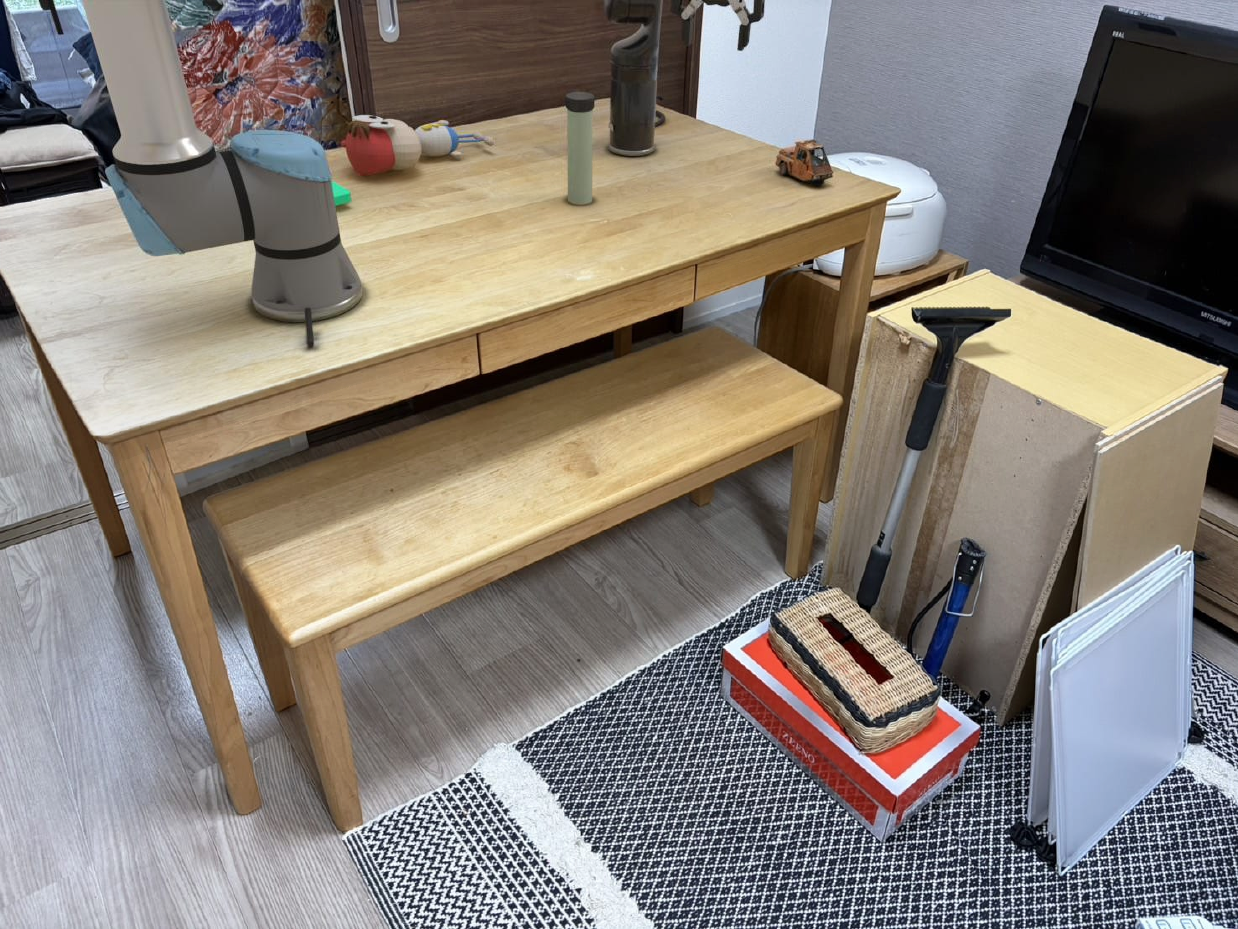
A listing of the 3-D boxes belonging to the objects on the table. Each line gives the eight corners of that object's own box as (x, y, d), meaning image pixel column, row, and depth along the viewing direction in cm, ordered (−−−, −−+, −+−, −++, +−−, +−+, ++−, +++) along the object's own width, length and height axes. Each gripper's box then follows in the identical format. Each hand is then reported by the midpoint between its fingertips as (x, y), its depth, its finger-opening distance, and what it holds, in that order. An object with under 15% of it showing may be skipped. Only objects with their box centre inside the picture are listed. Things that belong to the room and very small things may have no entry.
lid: (585, 101, 161) (585, 90, 160) (599, 109, 158) (599, 97, 157) (560, 105, 159) (560, 93, 158) (574, 113, 156) (574, 101, 154)
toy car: (791, 165, 186) (796, 130, 181) (837, 182, 178) (843, 146, 174) (769, 171, 182) (773, 136, 178) (815, 189, 175) (821, 153, 171)
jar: (584, 194, 171) (584, 93, 160) (596, 202, 168) (597, 99, 157) (563, 198, 169) (562, 96, 158) (575, 206, 166) (575, 103, 155)
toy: (509, 121, 178) (356, 125, 163) (508, 175, 183) (360, 183, 168) (469, 106, 192) (324, 108, 177) (469, 157, 197) (328, 162, 181)
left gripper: (151, -134, 141) (187, 17, 154) (-38, -132, 131) (17, 30, 144) (159, -130, 136) (195, 26, 149) (-37, -127, 126) (20, 41, 138)
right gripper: (776, -71, 137) (763, 46, 147) (683, -77, 141) (677, 37, 150) (766, -64, 132) (753, 57, 141) (670, -71, 135) (664, 47, 145)
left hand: (108, 29), depth 146 cm, fingers open, 13 cm apart
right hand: (714, 47), depth 146 cm, fingers open, 8 cm apart
